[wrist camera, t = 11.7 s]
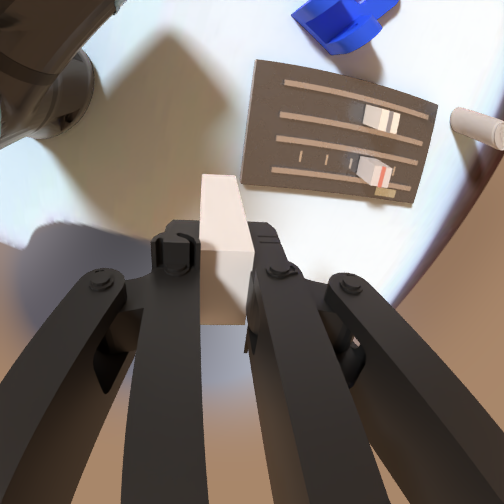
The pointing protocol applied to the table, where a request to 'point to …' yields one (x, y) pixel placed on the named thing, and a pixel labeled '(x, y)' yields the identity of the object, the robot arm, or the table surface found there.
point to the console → (330, 133)
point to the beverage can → (478, 127)
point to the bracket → (342, 22)
